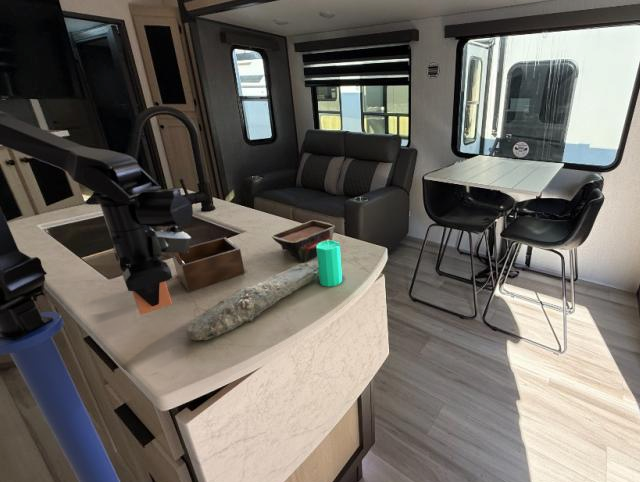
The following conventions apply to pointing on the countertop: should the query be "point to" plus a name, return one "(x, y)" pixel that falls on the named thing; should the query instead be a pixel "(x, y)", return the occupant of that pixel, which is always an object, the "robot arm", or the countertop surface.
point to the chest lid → (172, 253)
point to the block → (163, 300)
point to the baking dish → (304, 239)
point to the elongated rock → (250, 302)
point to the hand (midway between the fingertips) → (152, 299)
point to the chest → (209, 263)
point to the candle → (329, 263)
